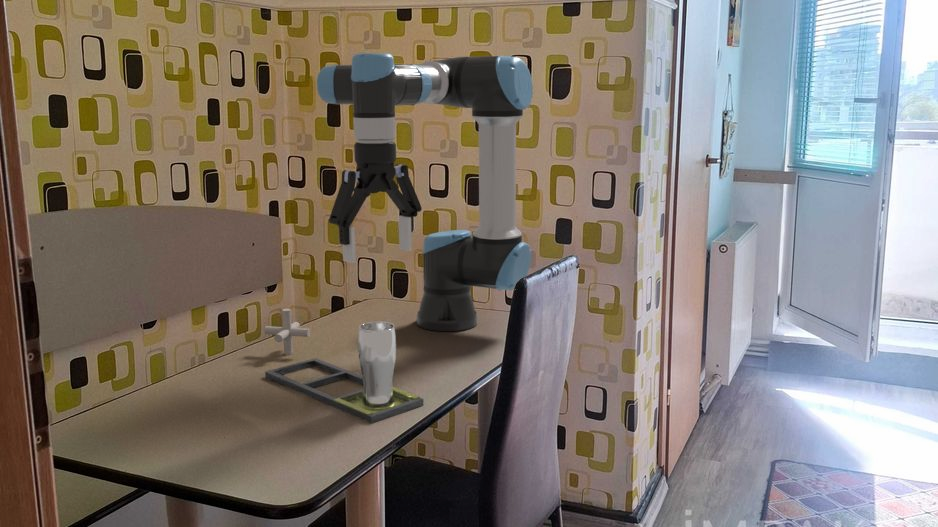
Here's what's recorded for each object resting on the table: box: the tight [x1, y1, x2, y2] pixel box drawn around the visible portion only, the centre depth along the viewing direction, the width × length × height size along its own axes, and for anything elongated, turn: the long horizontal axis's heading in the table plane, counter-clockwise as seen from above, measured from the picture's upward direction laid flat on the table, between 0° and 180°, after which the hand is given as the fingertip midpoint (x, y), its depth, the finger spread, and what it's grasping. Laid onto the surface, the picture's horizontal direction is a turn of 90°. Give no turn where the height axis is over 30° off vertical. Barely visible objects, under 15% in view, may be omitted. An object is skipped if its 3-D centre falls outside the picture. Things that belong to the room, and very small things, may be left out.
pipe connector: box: [263, 308, 311, 356], centre depth 189 cm, size 10×10×10 cm
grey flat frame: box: [264, 358, 424, 424], centre depth 167 cm, size 12×34×1 cm, turn 45°
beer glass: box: [357, 320, 397, 409], centre depth 158 cm, size 7×7×15 cm
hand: (378, 256), depth 160 cm, fingers open, 13 cm apart
